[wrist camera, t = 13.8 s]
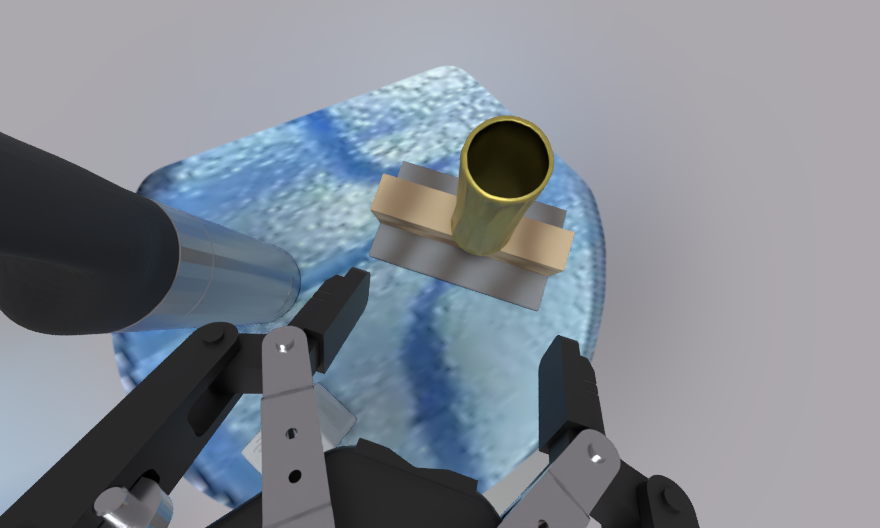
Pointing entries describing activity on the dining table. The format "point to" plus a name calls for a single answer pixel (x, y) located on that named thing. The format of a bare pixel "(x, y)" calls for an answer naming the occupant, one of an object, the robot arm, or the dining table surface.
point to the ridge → (438, 255)
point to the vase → (498, 182)
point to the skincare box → (332, 426)
